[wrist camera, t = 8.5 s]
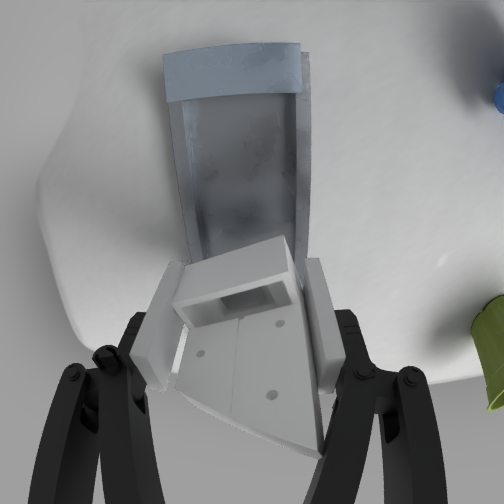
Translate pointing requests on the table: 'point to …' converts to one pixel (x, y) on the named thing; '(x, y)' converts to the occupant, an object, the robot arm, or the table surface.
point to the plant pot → (491, 350)
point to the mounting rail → (242, 145)
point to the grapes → (499, 98)
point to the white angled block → (251, 345)
